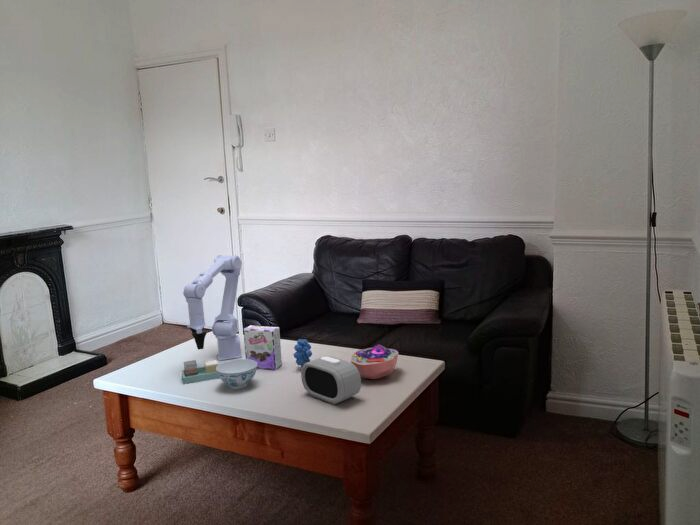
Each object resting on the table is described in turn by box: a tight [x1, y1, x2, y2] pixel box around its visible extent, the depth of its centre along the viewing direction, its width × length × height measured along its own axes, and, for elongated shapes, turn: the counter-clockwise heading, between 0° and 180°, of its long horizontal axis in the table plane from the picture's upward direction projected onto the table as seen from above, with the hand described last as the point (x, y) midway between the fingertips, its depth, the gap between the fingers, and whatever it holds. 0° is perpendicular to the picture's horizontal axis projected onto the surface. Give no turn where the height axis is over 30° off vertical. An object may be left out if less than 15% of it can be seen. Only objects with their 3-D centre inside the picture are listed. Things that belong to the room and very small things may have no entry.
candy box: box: [242, 324, 283, 371], centre depth 232 cm, size 14×6×16 cm, turn 68°
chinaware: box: [216, 358, 258, 390], centre depth 213 cm, size 15×15×8 cm
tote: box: [181, 363, 220, 385], centre depth 225 cm, size 15×9×2 cm, turn 110°
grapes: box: [293, 338, 313, 368], centre depth 229 cm, size 12×7×12 cm, turn 155°
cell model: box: [350, 344, 399, 380], centre depth 215 cm, size 17×20×11 cm
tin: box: [183, 359, 199, 377], centre depth 223 cm, size 5×5×6 cm
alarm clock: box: [300, 355, 362, 405], centre depth 198 cm, size 21×10×13 cm, turn 45°
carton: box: [204, 359, 219, 373], centre depth 226 cm, size 5×5×5 cm
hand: (199, 346), depth 230 cm, fingers open, 7 cm apart
